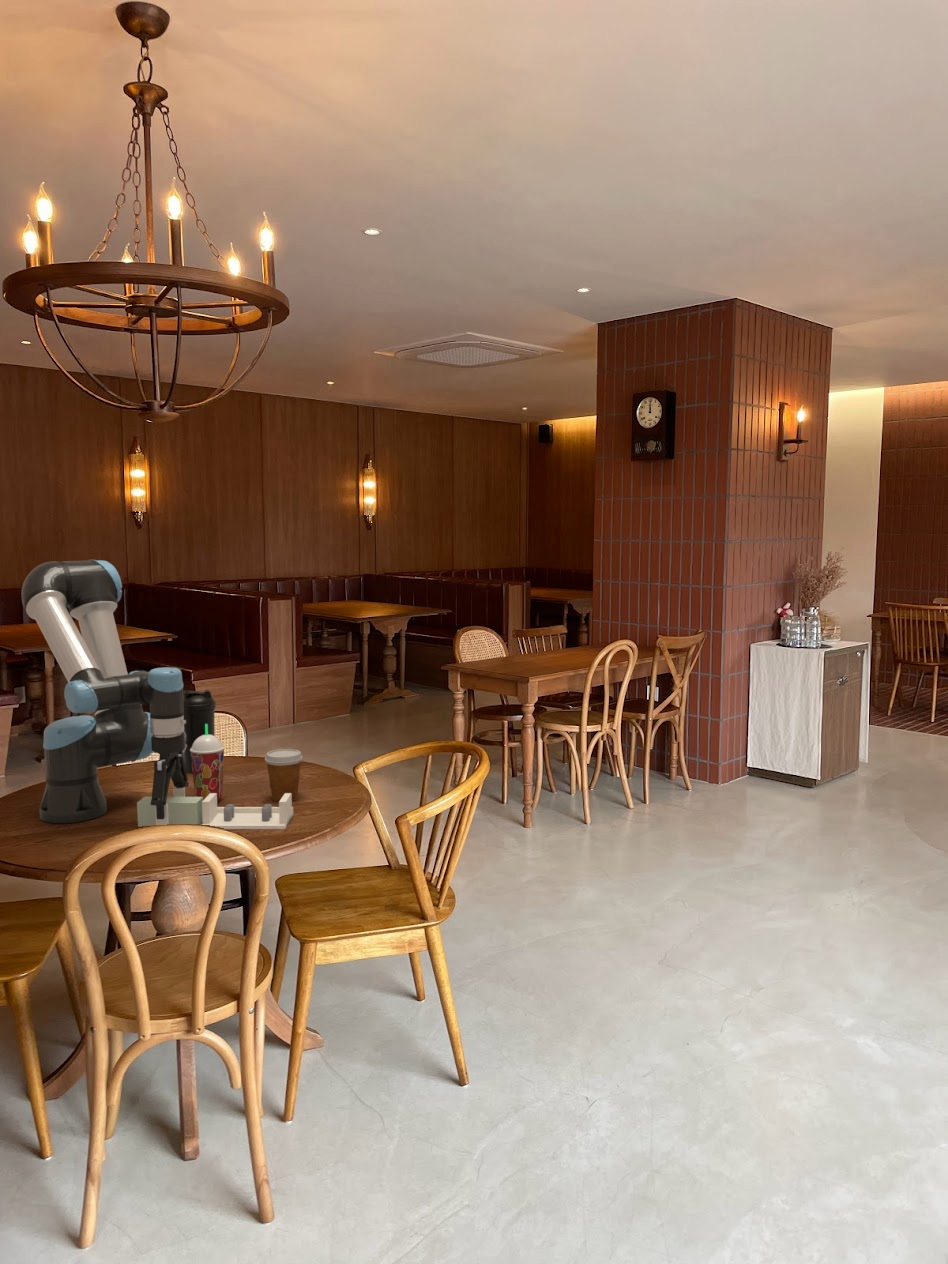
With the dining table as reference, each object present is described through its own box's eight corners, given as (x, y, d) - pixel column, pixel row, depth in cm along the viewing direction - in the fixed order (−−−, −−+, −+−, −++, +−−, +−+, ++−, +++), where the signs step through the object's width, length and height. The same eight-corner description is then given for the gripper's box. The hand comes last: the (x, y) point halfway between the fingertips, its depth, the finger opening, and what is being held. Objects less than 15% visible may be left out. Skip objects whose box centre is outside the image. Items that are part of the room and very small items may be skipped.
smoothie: (231, 797, 247) (229, 721, 245) (214, 806, 239) (212, 728, 237) (203, 794, 249) (200, 719, 247) (185, 804, 241) (182, 726, 239)
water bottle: (180, 766, 277) (177, 688, 274) (216, 764, 280) (214, 686, 277) (180, 775, 268) (177, 695, 265) (218, 772, 271) (215, 693, 268)
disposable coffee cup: (295, 805, 240) (294, 758, 239) (259, 802, 242) (258, 756, 241) (309, 794, 250) (308, 749, 248) (274, 792, 252) (273, 747, 250)
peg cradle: (200, 829, 222) (199, 804, 221) (213, 815, 232) (212, 791, 232) (284, 829, 222) (284, 804, 221) (293, 815, 232) (292, 791, 232)
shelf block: (138, 827, 224) (136, 802, 223) (145, 820, 229) (144, 796, 228) (197, 827, 224) (196, 803, 223) (203, 821, 229) (202, 796, 228)
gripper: (167, 746, 211) (171, 840, 214) (198, 722, 236) (201, 806, 238) (133, 746, 211) (137, 840, 214) (168, 722, 236) (171, 806, 238)
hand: (171, 822), depth 226 cm, fingers open, 12 cm apart
